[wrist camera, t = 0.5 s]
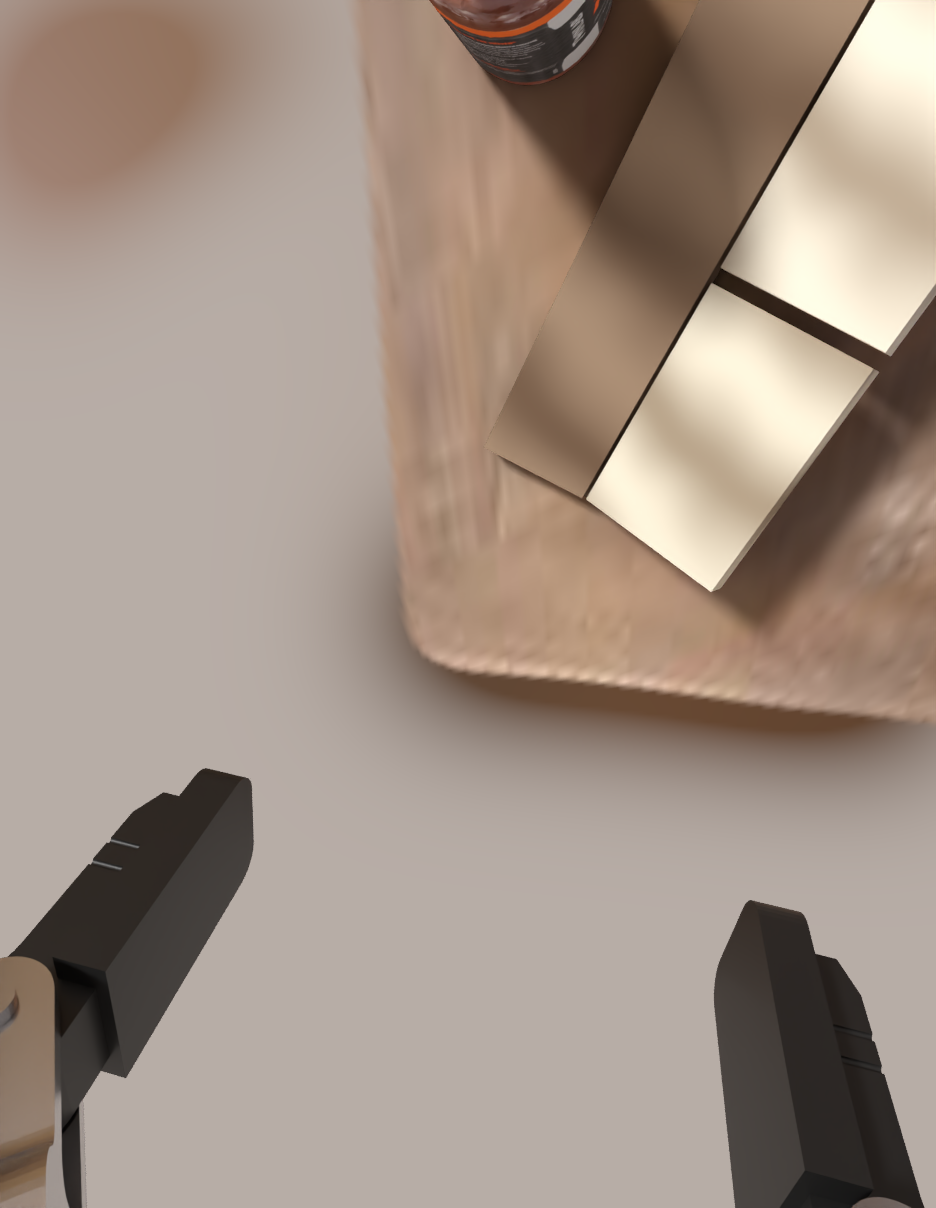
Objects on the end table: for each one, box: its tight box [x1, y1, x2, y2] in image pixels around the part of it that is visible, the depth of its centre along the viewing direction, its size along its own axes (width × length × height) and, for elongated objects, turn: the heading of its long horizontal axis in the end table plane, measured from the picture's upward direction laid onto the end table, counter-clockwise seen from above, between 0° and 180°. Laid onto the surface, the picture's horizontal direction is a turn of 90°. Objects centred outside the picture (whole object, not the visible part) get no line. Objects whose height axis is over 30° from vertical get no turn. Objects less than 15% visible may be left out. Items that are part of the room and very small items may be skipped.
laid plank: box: [484, 0, 875, 498], centre depth 29 cm, size 21×5×1 cm, turn 154°
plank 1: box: [720, 0, 936, 356], centre depth 25 cm, size 10×7×1 cm
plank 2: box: [586, 283, 879, 592], centre depth 30 cm, size 10×7×1 cm
